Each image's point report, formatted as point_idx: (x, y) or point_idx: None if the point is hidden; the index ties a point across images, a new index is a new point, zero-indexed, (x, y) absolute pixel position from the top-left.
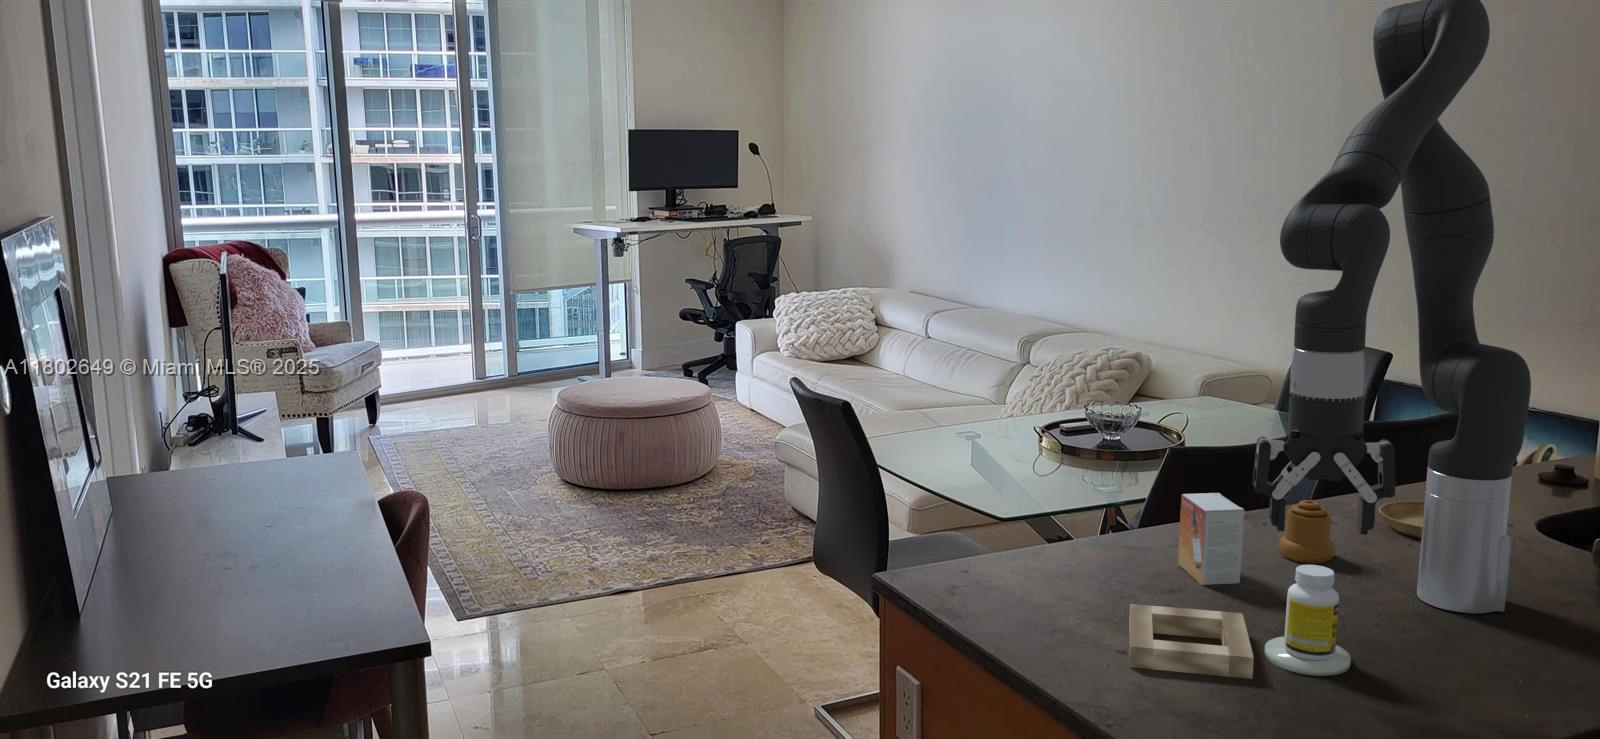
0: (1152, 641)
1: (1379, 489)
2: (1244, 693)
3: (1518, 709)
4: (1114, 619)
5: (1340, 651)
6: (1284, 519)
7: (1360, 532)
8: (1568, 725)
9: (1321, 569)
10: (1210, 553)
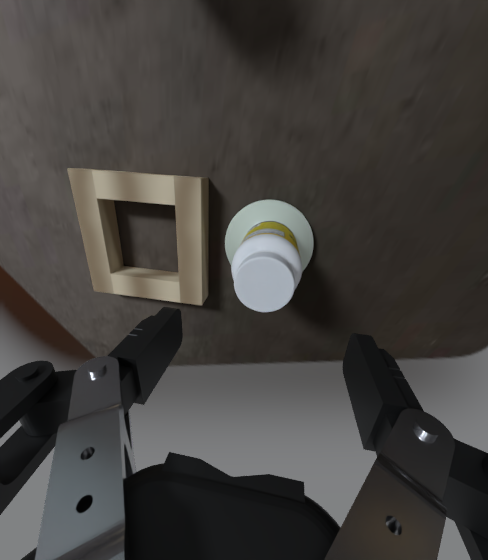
0: (110, 278)
1: (454, 514)
2: (199, 320)
3: (434, 332)
4: (69, 158)
5: (306, 240)
6: (169, 362)
7: (344, 366)
8: (460, 356)
9: (275, 281)
10: None
